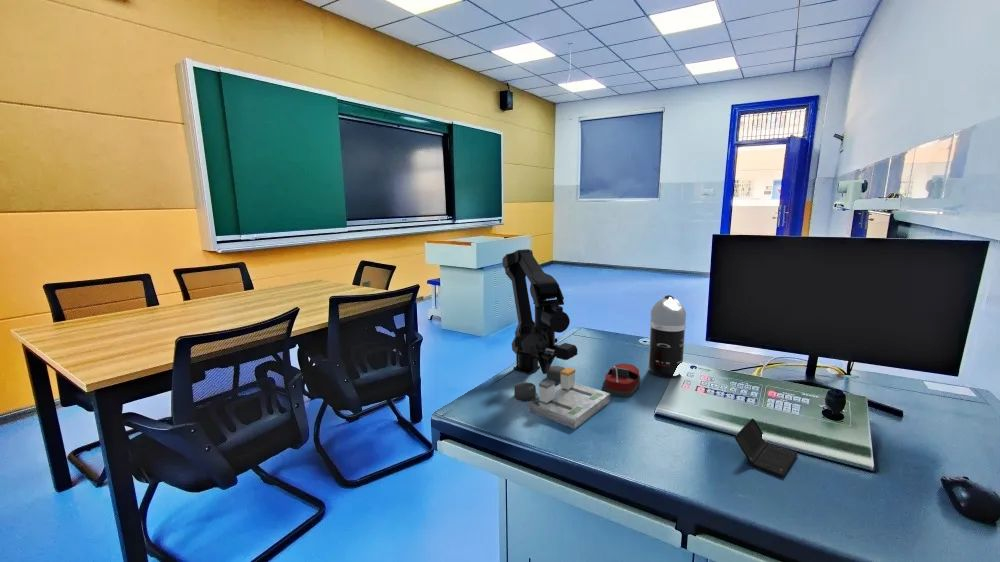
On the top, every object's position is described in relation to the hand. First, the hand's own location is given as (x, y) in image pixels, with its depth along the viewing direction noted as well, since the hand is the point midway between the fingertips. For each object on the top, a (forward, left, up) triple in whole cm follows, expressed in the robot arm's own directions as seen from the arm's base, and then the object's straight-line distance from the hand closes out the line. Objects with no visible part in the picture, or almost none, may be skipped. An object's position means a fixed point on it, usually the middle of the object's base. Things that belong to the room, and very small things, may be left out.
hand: (544, 373), depth 125 cm
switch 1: (+8, -10, -2) cm, 13 cm away
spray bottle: (+23, +33, -5) cm, 40 cm away
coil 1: (-1, -8, -4) cm, 9 cm away
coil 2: (-1, +8, -4) cm, 9 cm away
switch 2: (+8, 0, -2) cm, 8 cm away
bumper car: (+17, +15, -5) cm, 23 cm away
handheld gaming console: (+56, +2, -5) cm, 56 cm away
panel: (+12, -5, -4) cm, 14 cm away
